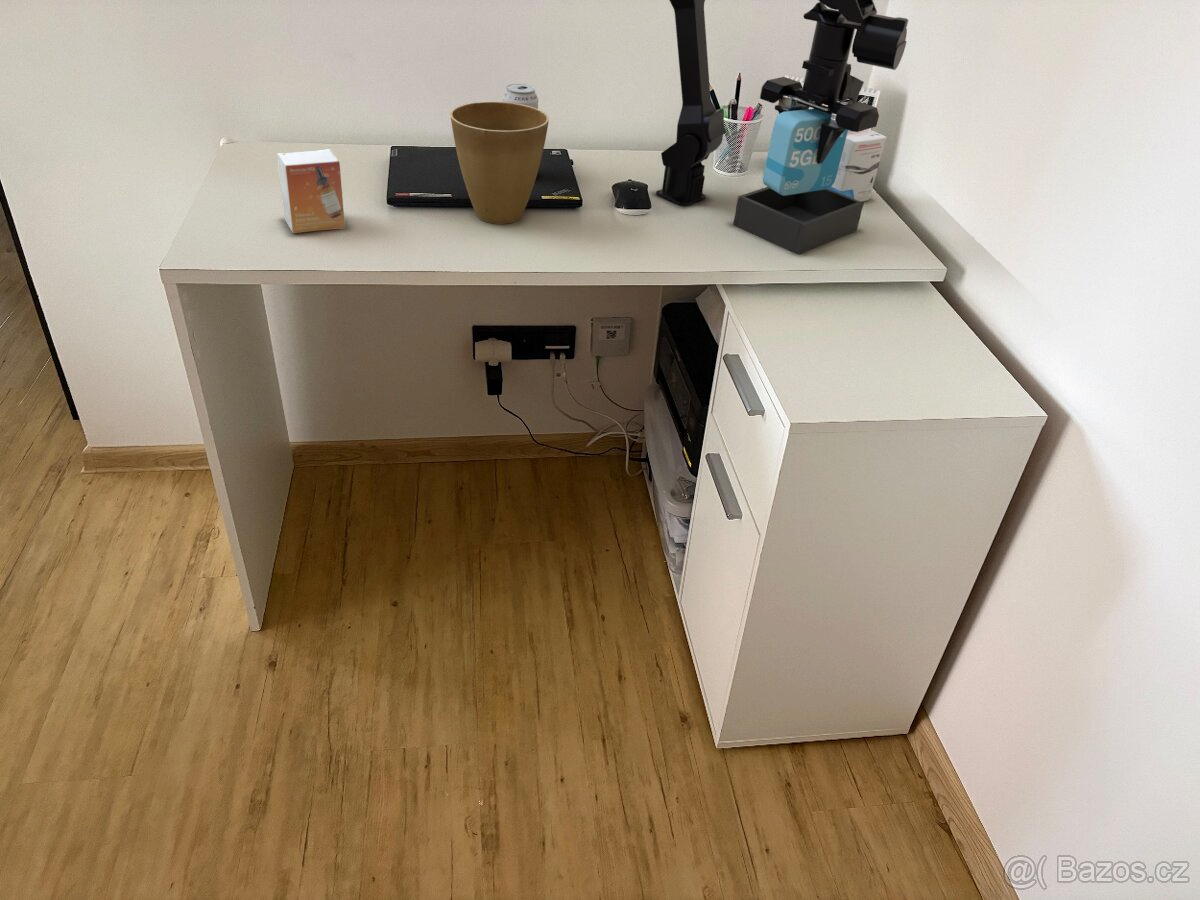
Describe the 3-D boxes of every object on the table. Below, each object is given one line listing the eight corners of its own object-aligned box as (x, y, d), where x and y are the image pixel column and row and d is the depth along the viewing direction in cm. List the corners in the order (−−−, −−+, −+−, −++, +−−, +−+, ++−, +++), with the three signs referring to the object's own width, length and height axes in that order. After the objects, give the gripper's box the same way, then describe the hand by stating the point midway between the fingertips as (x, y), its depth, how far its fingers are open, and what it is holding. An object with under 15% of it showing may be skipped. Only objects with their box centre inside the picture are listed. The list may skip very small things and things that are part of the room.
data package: (777, 197, 146) (794, 121, 138) (760, 186, 148) (775, 111, 141) (833, 188, 151) (852, 115, 144) (815, 178, 154) (833, 106, 147)
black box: (732, 224, 153) (738, 196, 150) (792, 204, 163) (798, 176, 160) (798, 254, 146) (804, 224, 143) (856, 230, 155) (864, 202, 152)
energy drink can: (494, 174, 162) (495, 87, 153) (514, 166, 166) (516, 80, 157) (522, 183, 160) (525, 95, 151) (541, 174, 164) (545, 88, 155)
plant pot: (560, 212, 151) (566, 114, 142) (512, 242, 141) (515, 138, 131) (485, 189, 156) (486, 93, 147) (433, 217, 146) (430, 115, 136)
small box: (292, 235, 136) (283, 165, 130) (284, 220, 140) (275, 152, 134) (346, 228, 140) (340, 160, 133) (336, 214, 143) (330, 147, 137)
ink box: (837, 207, 163) (858, 124, 154) (818, 197, 166) (837, 115, 158) (870, 200, 167) (892, 118, 159) (851, 190, 171) (871, 110, 162)
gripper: (911, 65, 137) (882, 167, 147) (810, 35, 147) (789, 132, 157) (870, 74, 131) (843, 180, 140) (767, 42, 141) (749, 143, 150)
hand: (806, 158), depth 147 cm, fingers closed on data package, 5 cm apart
